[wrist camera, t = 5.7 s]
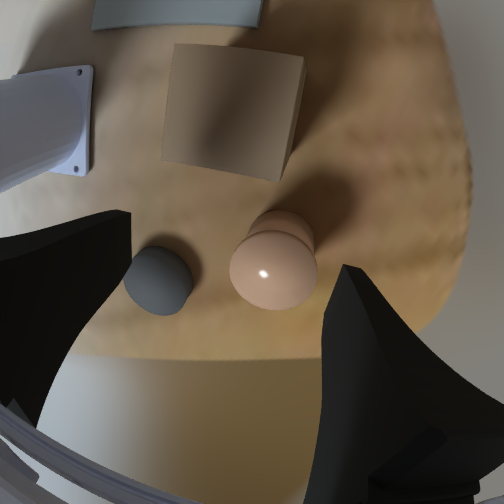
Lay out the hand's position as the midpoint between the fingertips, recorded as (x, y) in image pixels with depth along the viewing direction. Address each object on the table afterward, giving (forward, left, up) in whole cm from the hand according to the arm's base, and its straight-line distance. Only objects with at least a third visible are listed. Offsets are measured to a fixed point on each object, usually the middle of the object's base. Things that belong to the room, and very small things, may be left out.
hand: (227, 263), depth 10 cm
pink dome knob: (+1, -4, -9) cm, 10 cm away
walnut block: (-2, +4, -9) cm, 11 cm away
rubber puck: (-7, -9, -10) cm, 14 cm away
